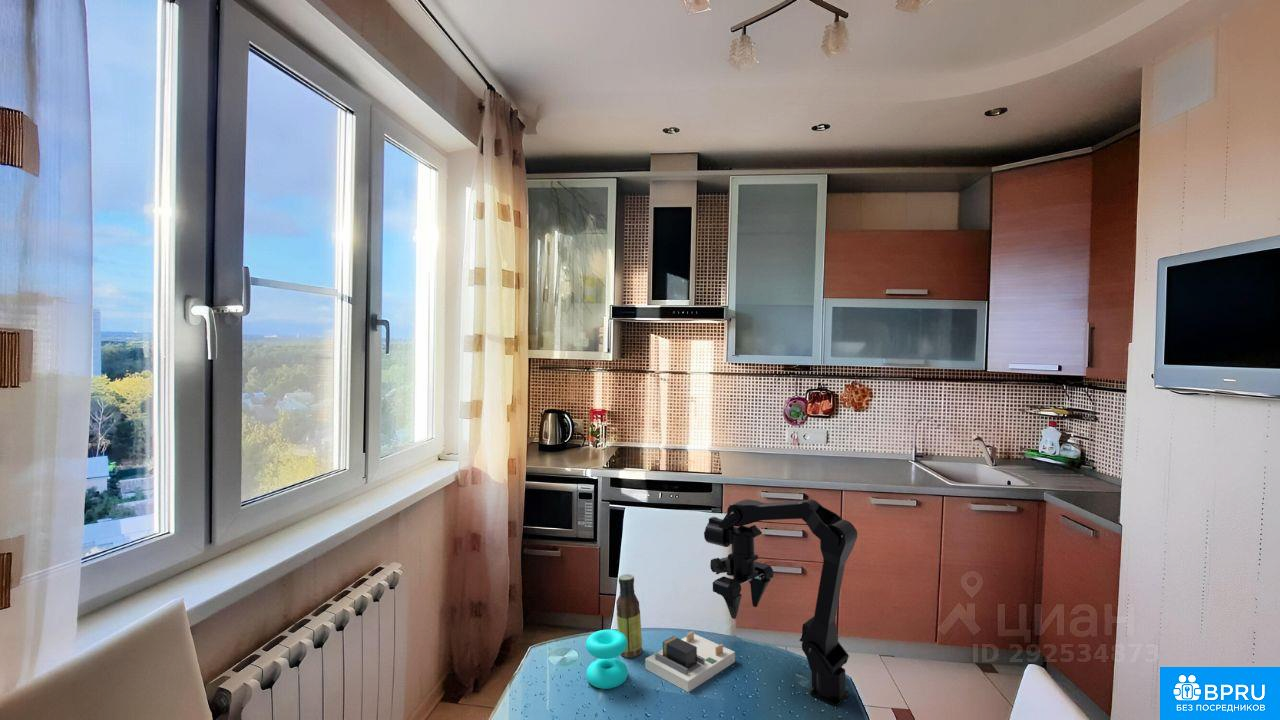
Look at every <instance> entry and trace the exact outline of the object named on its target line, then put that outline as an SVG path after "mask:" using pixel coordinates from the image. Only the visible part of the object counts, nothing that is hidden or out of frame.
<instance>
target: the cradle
mask: <svg viewBox="0 0 1280 720" xmlns="http://www.w3.org/2000/svg"><path fill="white" fill-rule="evenodd" d="M680 639H681V640H683V641H685V642H687V643H689V644H691V645H694V646H696V647H697V664H696V665H694V666H692V667H691V668H689V669H688V668H686V667H684V666H682V665H680V664H678V663H676V662H674V661H672V660H670V659H668V658H666V657H664V656H663V648H662V649H660V650H658V651H657V652H655V653H653V654H651V655H649V656H648V657H646V658H645V659H644V661H645V670H647V671H649V672H651V673H652V674H654V675H656V676H658V677H659V678H661V679H663V680H666V682H669V683H670V684H673V685H675V686H676V687H678V688H679V689H682V690H683V691H685V692H687V693H690V692H691V691H692V690H694V689H696V688H697V687H699V686H700V685H702V684H703V683H705V682H706V681H708V680H710V679H711V678H713V677H715V676H716V675H717V674H718V673H720V672H722V671H723V670H725V669H726V668H728V667H729V666H731V665H732V664H734V663H735V662H736V651H734V650H732V649H729V648H727V647H725V646H724V645H723V643H720V644H718V643H716V642H713V641H712V640H709V639H707V638H704V637H702V636H700V635H698V634H696V633H695V632H694V631H693V630H692V631H690V632H688V633H687V634H686V636H685V637H683V638H680Z"/></svg>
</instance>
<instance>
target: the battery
mask: <svg viewBox="0 0 1280 720" xmlns="http://www.w3.org/2000/svg"><path fill="white" fill-rule="evenodd" d="M681 639H682V638H678V637H676V636H675V635H674V636H672V637H670V638H667V639H666V640H663V641H662V649H663V656H664V657H666V658H668V659H670V660H672V661H674V662H676V663H678V664H680V665H682V666H684V667H686V668H688V669H689V668H691V667H692V666H694V665H696V664H697V647H696V646H694V645H691V644H689V643H687V642H685V641H683V640H681Z"/></svg>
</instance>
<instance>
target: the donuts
mask: <svg viewBox="0 0 1280 720" xmlns="http://www.w3.org/2000/svg"><path fill="white" fill-rule="evenodd" d="M626 647H627V639H626V637H625V635H624V634H622V633H621V632H619V631H618V630H616V629H601V630H597V631H595V632H593V633H591V634H590V635H589V636H588V637H587V639H586V642H585V649H586V651H587V652H588V653H589V654H590V656H592V657H594V658H597V659H596V660H594V661H592V662H591V663H590V664H589V666H588V667H587V670H586V674H585V675H586V680H587V682H588V684H590V685H592V686H593V687H595V688H598V689H603V690H606V689H607V690H609V689H614V688H617V687H619V686H621V685H622V684H623V683H625V681H626V680H627V678H628V675H629V671H628V670H629V669H628V667H627V665H626V663H625V662H624V661H622V660H621V659H619V658H617V657H619V656H622V655H621V654H622V653H623V652H624V651H625V649H626Z"/></svg>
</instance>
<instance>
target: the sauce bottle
mask: <svg viewBox="0 0 1280 720" xmlns="http://www.w3.org/2000/svg"><path fill="white" fill-rule="evenodd" d="M618 584H619V596H618V598H617V599H616V603H615V604H616V622H617V623H616V626H617V631H619V632H621V633H622V634H624V635H625V637H626V639H627V647H626V649H625V651H624V652H623V653H622V654H621V655H620V656H622V657H624V658H635V657H638V656H640V655H641V654H642V651H643V640H642V637H643V636H642V623H641V622H642V621H641V620H642V619H641V610H640V601H639V600H638V597H637V595H636V594H635V576H634V575H632V574H629V573H626V574H625V573H624V574H622V575H619V577H618Z"/></svg>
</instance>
